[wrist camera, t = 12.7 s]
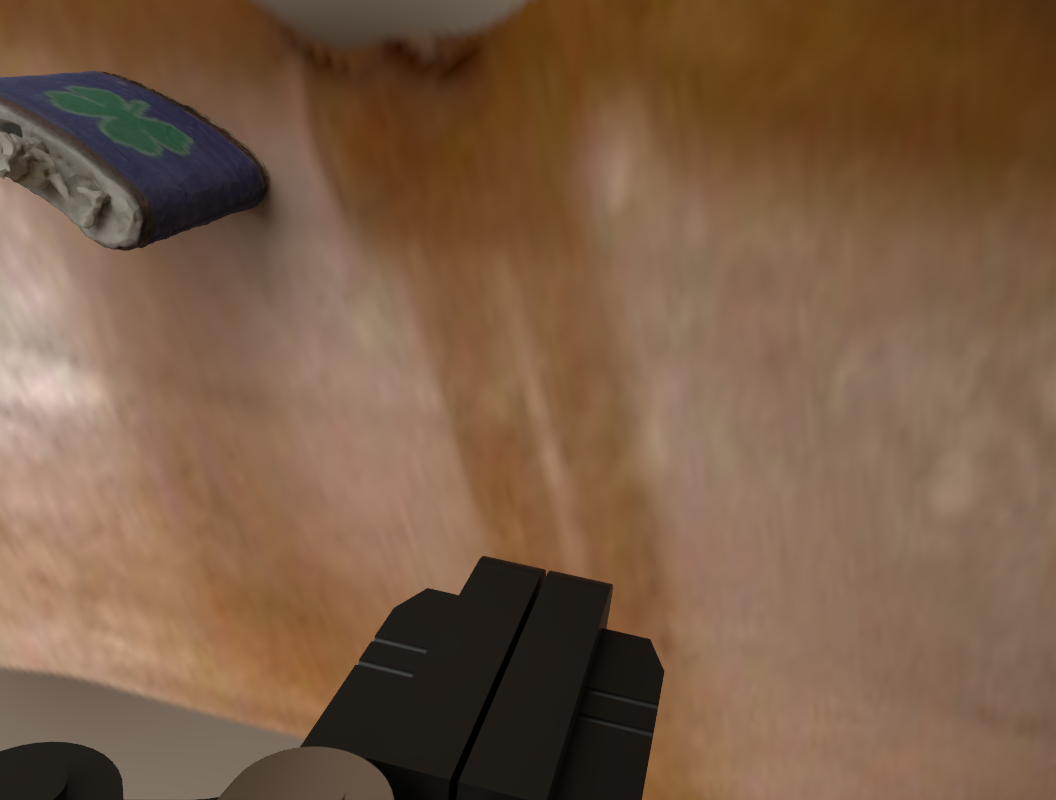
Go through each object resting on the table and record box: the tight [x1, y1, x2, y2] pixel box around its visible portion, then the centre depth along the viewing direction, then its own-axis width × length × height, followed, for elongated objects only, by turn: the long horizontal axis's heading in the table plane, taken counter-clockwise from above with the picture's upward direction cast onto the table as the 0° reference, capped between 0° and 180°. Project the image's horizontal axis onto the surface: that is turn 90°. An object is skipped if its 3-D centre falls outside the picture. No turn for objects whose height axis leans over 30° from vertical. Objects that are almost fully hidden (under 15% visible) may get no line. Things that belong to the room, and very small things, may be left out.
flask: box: [0, 71, 270, 250], centre depth 37 cm, size 9×3×11 cm, turn 62°
